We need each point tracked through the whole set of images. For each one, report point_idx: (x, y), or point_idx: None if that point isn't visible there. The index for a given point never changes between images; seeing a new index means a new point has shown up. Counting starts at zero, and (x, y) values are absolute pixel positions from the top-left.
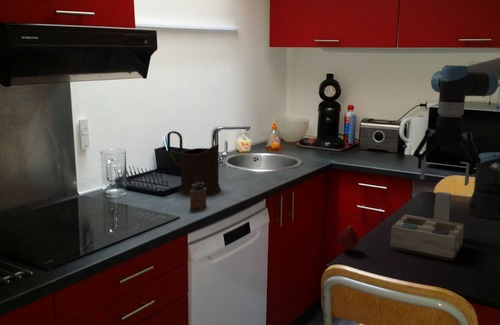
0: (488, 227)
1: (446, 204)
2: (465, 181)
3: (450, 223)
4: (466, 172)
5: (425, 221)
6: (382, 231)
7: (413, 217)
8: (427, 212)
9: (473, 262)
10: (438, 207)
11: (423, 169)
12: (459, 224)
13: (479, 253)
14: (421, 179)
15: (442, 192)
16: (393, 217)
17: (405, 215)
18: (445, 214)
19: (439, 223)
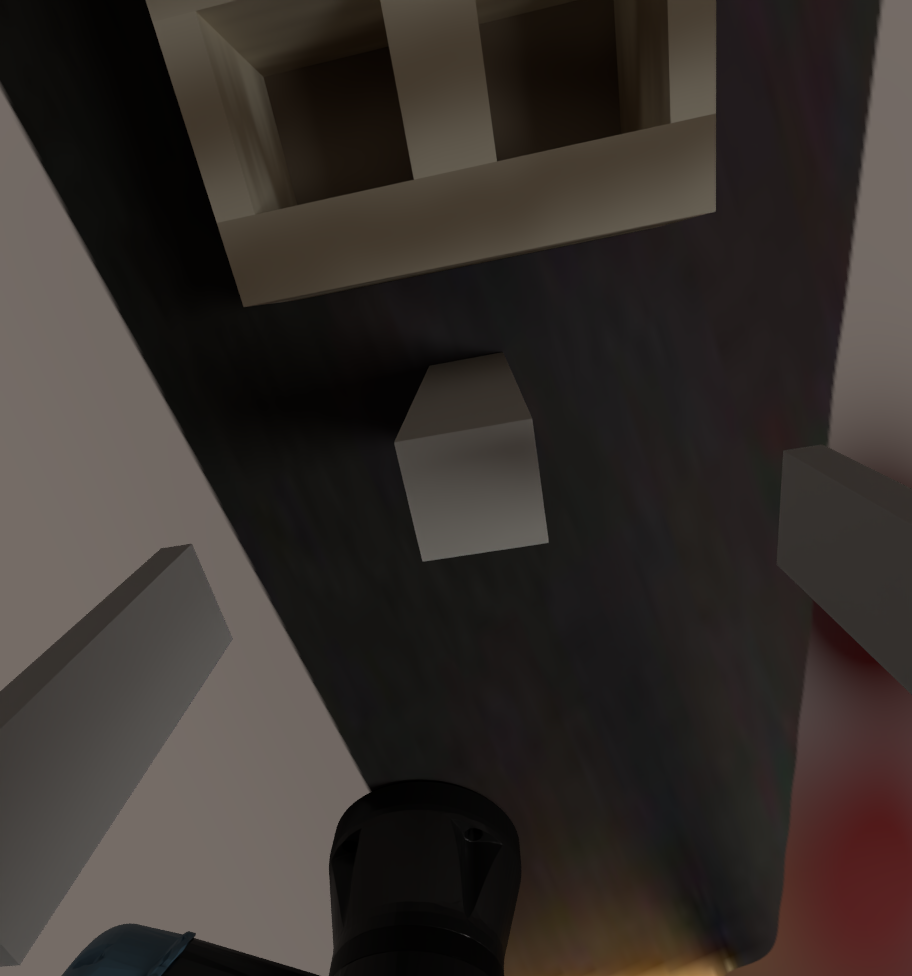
0: (341, 676)
1: (418, 415)
2: (153, 575)
3: (321, 240)
4: (44, 675)
5: (506, 159)
6: (802, 195)
7: (625, 175)
8: (665, 710)
9: (101, 25)
10: (485, 395)
11: (907, 546)
12: (262, 269)
13: (169, 239)
14: (798, 450)
15: (503, 538)
16: None
17: (705, 181)
18: (426, 395)
19: (391, 186)
